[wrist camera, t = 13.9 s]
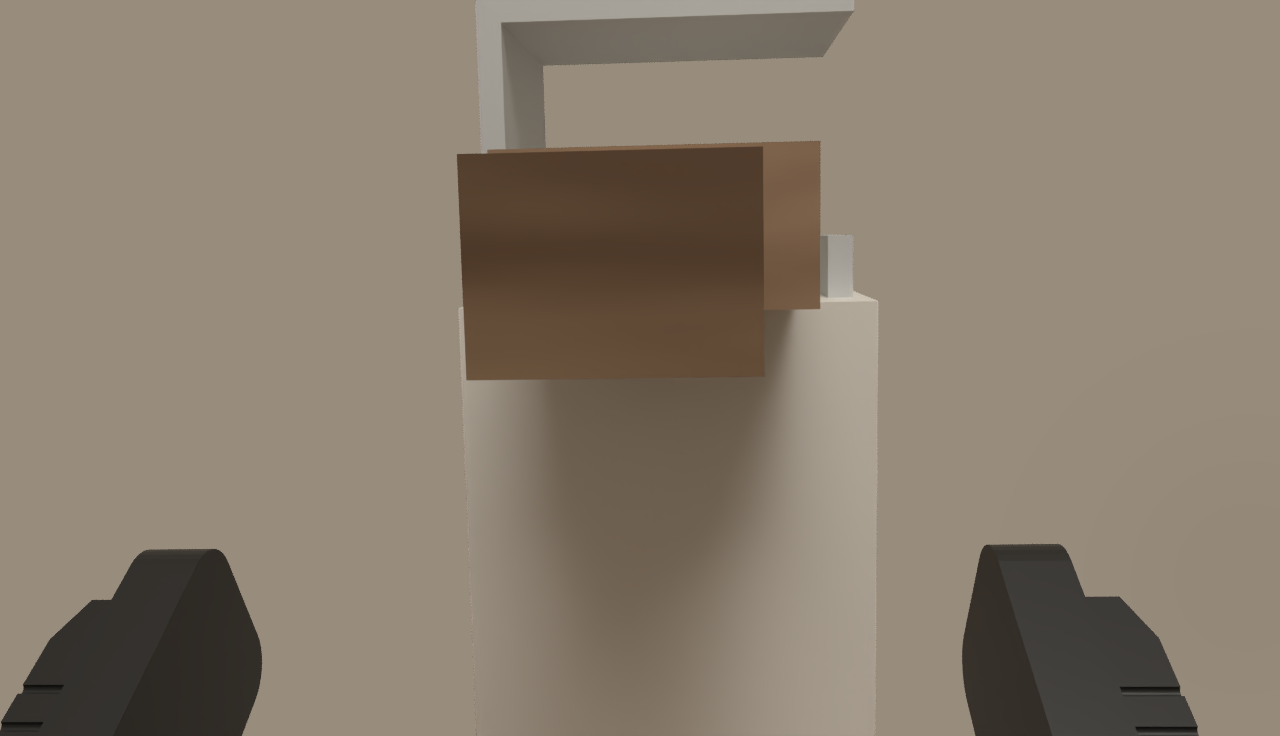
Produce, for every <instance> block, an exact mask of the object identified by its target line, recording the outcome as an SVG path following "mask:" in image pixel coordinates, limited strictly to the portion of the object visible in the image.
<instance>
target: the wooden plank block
mask: <svg viewBox="0 0 1280 736" xmlns="http://www.w3.org/2000/svg"><path fill="white" fill-rule="evenodd" d="M457 166H458V191H459V215H460V239H461V263H462V285H463V286H462V287H463V311H464V335H465V359H466V380H542V379H621V378H701V377H765V374H764V310H798V309H820V141H803V142H802V141H800V142H762V143H723V144H688V145H687V144H685V145H647V146H608V147H570V148H531V149H493V150H487V153H486V154H457Z"/></svg>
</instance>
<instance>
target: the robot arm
mask: <svg viewBox="0 0 1280 736" xmlns="http://www.w3.org/2000/svg"><path fill="white" fill-rule="evenodd" d="M962 664H963V678H964V685H965V686H964V687H965V693H966V698H967V702H968V707H969V710H970V715H971V719H972V723H973V727H974V731H975V735H976V736H1198V732H1197V727H1198V726H1197V724H1196V722H1195V719H1194V717H1193V715H1192V712H1191V710H1190V708H1189V706H1188V703H1187V701H1186V699H1185V697H1184V696H1181V694H1180V685H1179V683H1178V681H1177V678H1176V676H1175V674H1174V671H1173V669H1172V667H1171V665H1170V662H1169V660H1168V658H1167V655H1166V653H1165V651H1164V649H1163V646H1162V644H1161V642H1160V639H1159V638H1158V637H1157V636H1156V635H1155V634H1154V632H1153V631H1152V630H1151V629H1150V628H1149V627H1148V626H1147V625H1146V624H1145V623H1144V622H1143V621H1142V620H1141V619H1140V618H1139V617H1138V616H1137V615H1136V614H1135V613H1134V611H1132V609H1131V608H1130V607H1129V606H1128V605H1127V604H1126V603H1125V602H1124V601H1123V600H1122V599H1121V598H1120V597H1085V595H1084V593H1083V590H1082V588H1081V585H1080V582H1079V580H1078V577H1077V574H1076V572H1075V570H1074V567H1073V564H1072V561H1071V559H1070V557H1069V555H1068V553H1067V551H1066V550H1065V548H1064V547H1063V546H1061V545H1059V544H1027V545H1026V544H1025V545H1021V544H1020V545H986V546H984V547H983V549H982V551H981V555H980V559H979V563H978V568H977V573H976V578H975V583H974V588H973V593H972V598H971V603H970V609H969V613H968V618H967V623H966V628H965V633H964V639H963V650H962ZM261 671H262V653H261V646H260V641H259V638H258V635H257V632H256V630H255V627H254V625H253V623H252V620H251V618H250V615H249V613H248V610H247V608H246V606H245V603H244V600H243V598H242V596H241V593H240V591H239V588H238V586H237V583H236V581H235V578H234V576H233V573H232V571H231V568H230V566H229V563H228V561H227V559H226V557H225V556H224V554H223V553H222V552H221V551H219V550H217V549H178V550H177V549H173V550H172V549H171V550H170V549H168V550H146V551H143V552H142V553H140V554H139V555H138V556H137V557H136V558H135V559H134V561H133V562H132V564H131V566H130V568H129V569H128V571H127V573H126V575H125V576H124V579H123V580H122V582H121V584H120V585H119V587H118V589H117V591H116V593H115V594H114V596H113V598H112V600H92V601H91V602H90V603H88V605H86V606H85V607H84V608H83V609H82V610H81V611H80V612H79V613H78V614H77V615H76V616H75V617H74V618H72V619H71V620H70V621H69V622H68V623H67V624H66V625H65V626H64V627H63V628H62V629H61V630H60V631H58V632H57V633H56V634H55V635H54V636H53V637H52V638H51V639H50V640H49V642H48V643H47V645H46V647H45V649H44V650H43V652H42V654H41V655H40V657H39V659H38V660H37V662H36V664H35V666H34V667H33V669H32V670H31V672H30V674H29V676H28V677H27V679H26V681H25V682H24V684H23V686H24V690H23V693H22V694H17V696H16V698H15V699H14V701H13V703H12V704H11V706H10V708H9V709H8V711H7V713H6V714H5V716H4V718H3V719H2V721H1V723H2V727H1V730H0V736H242V734H243V731H244V728H245V726H246V723H247V720H248V718H249V715H250V713H251V710H252V707H253V705H254V702H255V699H256V696H257V693H258V689H259V685H260V679H261Z"/></svg>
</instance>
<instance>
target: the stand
mask: <svg viewBox="0 0 1280 736" xmlns="http://www.w3.org/2000/svg"><path fill="white" fill-rule="evenodd" d="M475 4H476V28H477V29H476V31H477V55H478V81H479V105H480V106H479V108H480V133H481V154H486V153H487V150H493V149H531V148H545V119H544V118H545V117H544V84H543V66H545V65H578V64H609V63H641V62H674V61H705V60H706V61H707V60H740V59H769V58H770V59H771V58H804V57H823V56H824V54H825V53H826V51H827V50H828V48H829V47H830V46H831V44H832V43H833V41H834V40H835V38H836V37H837V35H838V33H839V32H840V31H841V29H842V28H843V26H844V25H845V23H846V22H847V20H848V19H849V17H850V16H851V14H852V13H853V12H854V0H475ZM458 310H459V331H460V332H459V334H460V357H461V381H462V404H463V427H464V450H465V451H464V452H465V476H466V500H467V523H468V547H469V571H470V595H471V618H472V642H473V664H474V665H473V666H474V690H475V712H476V713H475V714H476V736H875V705H876V704H875V702H876V700H875V699H876V698H875V697H876V696H875V695H876V562H877V560H876V557H877V555H876V554H877V547H876V546H877V420H878V419H877V418H878V417H877V416H878V301H877V300H874V299H872V298H869V297H867V296H864V295H862V294H859V293H857V292H854V291H853V235H820V309H798V310H764V374H765V377H701V378H621V379H542V380H466V359H465V335H464V311H463V307H461V308H459V309H458Z"/></svg>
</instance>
